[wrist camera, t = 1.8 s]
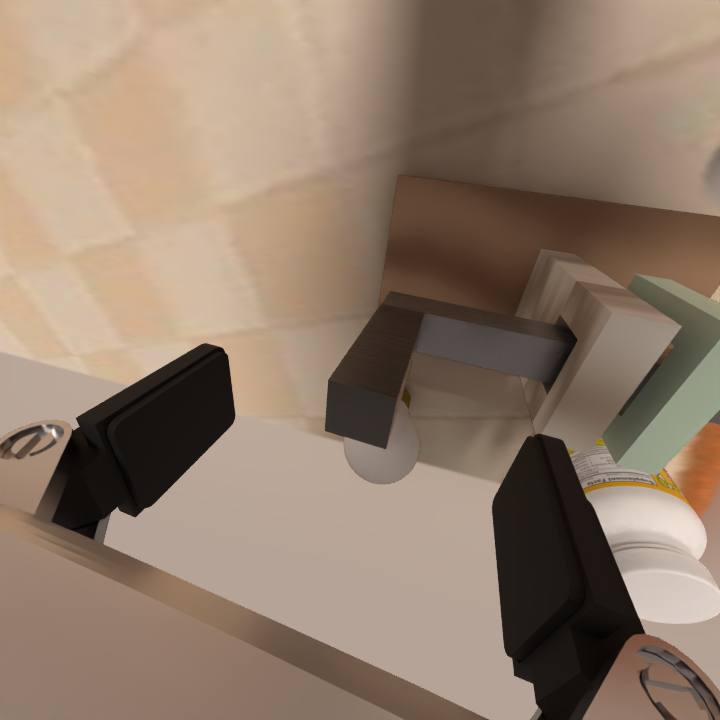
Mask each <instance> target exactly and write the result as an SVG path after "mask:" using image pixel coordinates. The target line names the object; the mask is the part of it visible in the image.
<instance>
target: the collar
mask: <svg viewBox="0 0 720 720" xmlns="http://www.w3.org/2000/svg"><path fill="white" fill-rule="evenodd" d="M627 290H629V291H630V292H632V293H633V294H635V295H636V296H638V297H639V298H641V299H642V300H644V301H645V302H647V303H648V304H650V305H651V306H653V307H654V308H656V309H657V310H659V311H660V312H661V313H663V314H664V315H666V316H667V317H669V318H670V319H672V320H673V321H675V322H676V323H678V324H679V325H681V326H682V327H681V328H680V330H679V331H678V333H677V334H676V335H675V337H674V338H673V339H672V341H671V342H670V343H671V344H673V345H674V347H673V348H672V350H671V351H670V352H669V354H668V355H667V356H666V358H665V359H664V360H663V362H662V363H661V364H660V366H659V367H658V368H657V370H656V371H655V372H654V374H653V375H652V376H651V378H650V379H649V380H648V382H647V383H646V384H645V386H644V387H643V388H642V390H641V391H640V392H639V394H638V395H637V396H636V398H635V399H634V400H633V402H632V403H628V402H626V403H625V404H624V406H623V407H622V408H621V410H620V411H619V413H618V414H617V415H616V417H615V418H614V419H613V421H612V422H611V423H610V425H609V426H608V427H607V429H606V430H605V432H604V433H603V434H602V436H601V437H602V439H603V441H604V443H605V445H606V447H607V449H608V451H609V453H610V455H611V456H612V458H613V460H614V462H615V464H616V465H619V466H622V467H626V468H630V469H633V470H637V471H641V472H644V473H648V474H651V475H655V476H656V475H657V474H658V473H659V472H660V471H661V470H662V469H663V468H664V467H665V466H666V465H667V464H668V463H669V462H670V461H671V460H672V459H673V458H674V457H675V456H676V455H677V454H678V453H679V452H680V451H681V450H682V448H683V447H684V446H685V445H686V444H687V443H688V442H689V441H690V440H691V439H692V438H693V437H694V436H695V435H696V434H697V433H698V432H699V431H700V430H701V429H702V428H703V427H704V426H705V425H706V424H707V423H708V422H709V420H710V419H711V418H712V417H713V416H714V415H715V414H716V413H717V412H718V411H719V410H720V303H718V302H716V301H714V300H712V299H710V298H708V297H706V296H704V295H702V294H700V293H697V292H695V291H693V290H691V289H689V288H687V287H685V286H683V285H681V284H679V283H677V282H675V281H673V280H670V279H664V278H658V277H652V276H646V275H640V274H635V275H634V277H633V279H632V281H631V282H630V284H629V286H628V287H627Z"/></svg>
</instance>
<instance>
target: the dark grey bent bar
mask: <svg viewBox="0 0 720 720" xmlns="http://www.w3.org/2000/svg"><path fill="white" fill-rule="evenodd" d="M577 341H578V339H577V338H576V336H575V335H574V333H573V332H572V331H571V329H570V328H569V327H565V326H560V325H555V324H550V323H545V322H540V321H535V320H530V319H525V318H521V317H516V316H511V315H506V314H501V313H496V312H491V311H486V310H482V309H477V308H472V307H467V306H462V305H457V304H452V303H447V302H443V301H438V300H433V299H428V298H423V297H418V296H413V295H408V294H404V293H399V292H394V291H390V292H389V293H388V295H387V296H386V298H385V299H384V301H383V302H382V303H381V305H380V306H379V308H378V309H377V311H376V312H375V314H374V315H373V316H372V318H371V319H370V321H369V322H368V324H367V325H366V326H365V328H364V329H363V331H362V332H361V334H360V335H359V337H358V338H357V339H356V341H355V342H354V344H353V345H352V347H351V348H350V349H349V351H348V352H347V354H346V355H345V357H344V358H343V360H342V361H341V362H340V364H339V365H338V367H337V368H336V370H335V371H334V372H333V374H332V375H331V377H330V378H329V380H328V393H327V408H326V423H325V431H327V432H330V433H334V434H337V435H340V436H343V437H347V438H350V439H353V440H356V441H360V442H363V443H366V444H369V445H373V446H376V447H379V448H382V449H386V448H387V445H388V441H389V438H390V435H391V431H392V428H393V425H394V421H395V418H396V415H397V411H398V408H399V405H400V401H401V398H402V395H403V391H404V388H405V385H406V381H407V378H408V375H409V371H410V368H411V365H412V361H413V358H414V355H415V351H416V352H420V353H424V354H428V355H432V356H436V357H441V358H445V359H449V360H453V361H457V362H461V363H466V364H470V365H474V366H478V367H482V368H486V369H491V370H495V371H499V372H503V373H507V374H511V375H516V376H520V377H524V378H528V379H532V380H536V381H541V382H545V383H549V384H554V383H555V381H556V379H557V377H558V375H559V373H560V372H561V370H562V368H563V366H564V364H565V363H566V361H567V359H568V357H569V355H570V354H571V352H572V350H573V348H574V346H575V345H576V343H577ZM671 350H672V348H667V347H666V349H665V350H664V352H663V353H662V354H661V356H660V357H659V358H658V360H657V361H656V362H655V364H654V365H653V366H652V368H651V369H650V371H649V372H648V373H647V375H646V376H645V377H644V379H643V380H642V381H641V383H640V384H639V385H638V387H637V388H636V389H635V391H634V392H633V394H632V395H631V396H630V398H629V399H628V400H627V402H628V403H632V402H633V400H634V399H635V398H636V396H637V395H638V394H639V392H640V391H641V390H642V388H643V387H644V386H645V384H646V383H647V382H648V380H649V379H650V378H651V376H652V375H653V374H654V372H655V371H656V370H657V368H658V367H659V366H660V364H661V363H662V362H663V360H664V359H665V358H666V356H667V355H668V354H669V352H670V351H671ZM709 422H712V423H716V424H720V410H719V411H718V412H717V413H716V414H715V415H714V416H713V417H712V418H711V419H710V420H709Z"/></svg>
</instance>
